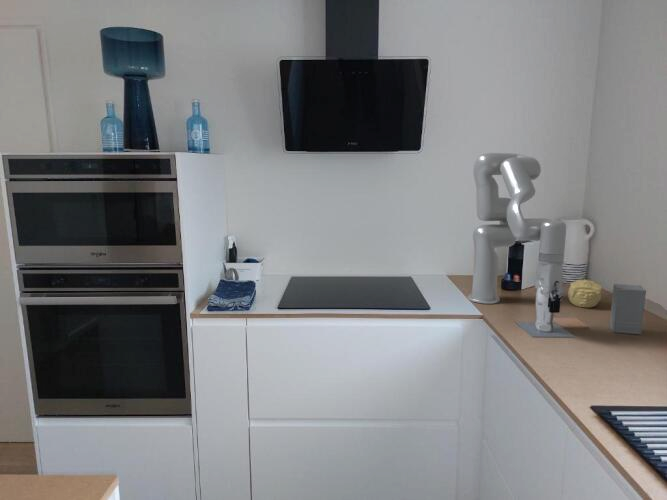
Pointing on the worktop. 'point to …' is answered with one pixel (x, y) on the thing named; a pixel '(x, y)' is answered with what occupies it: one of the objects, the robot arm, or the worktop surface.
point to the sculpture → (584, 293)
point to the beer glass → (543, 312)
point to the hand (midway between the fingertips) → (547, 308)
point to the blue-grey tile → (536, 333)
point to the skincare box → (627, 308)
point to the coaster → (570, 323)
